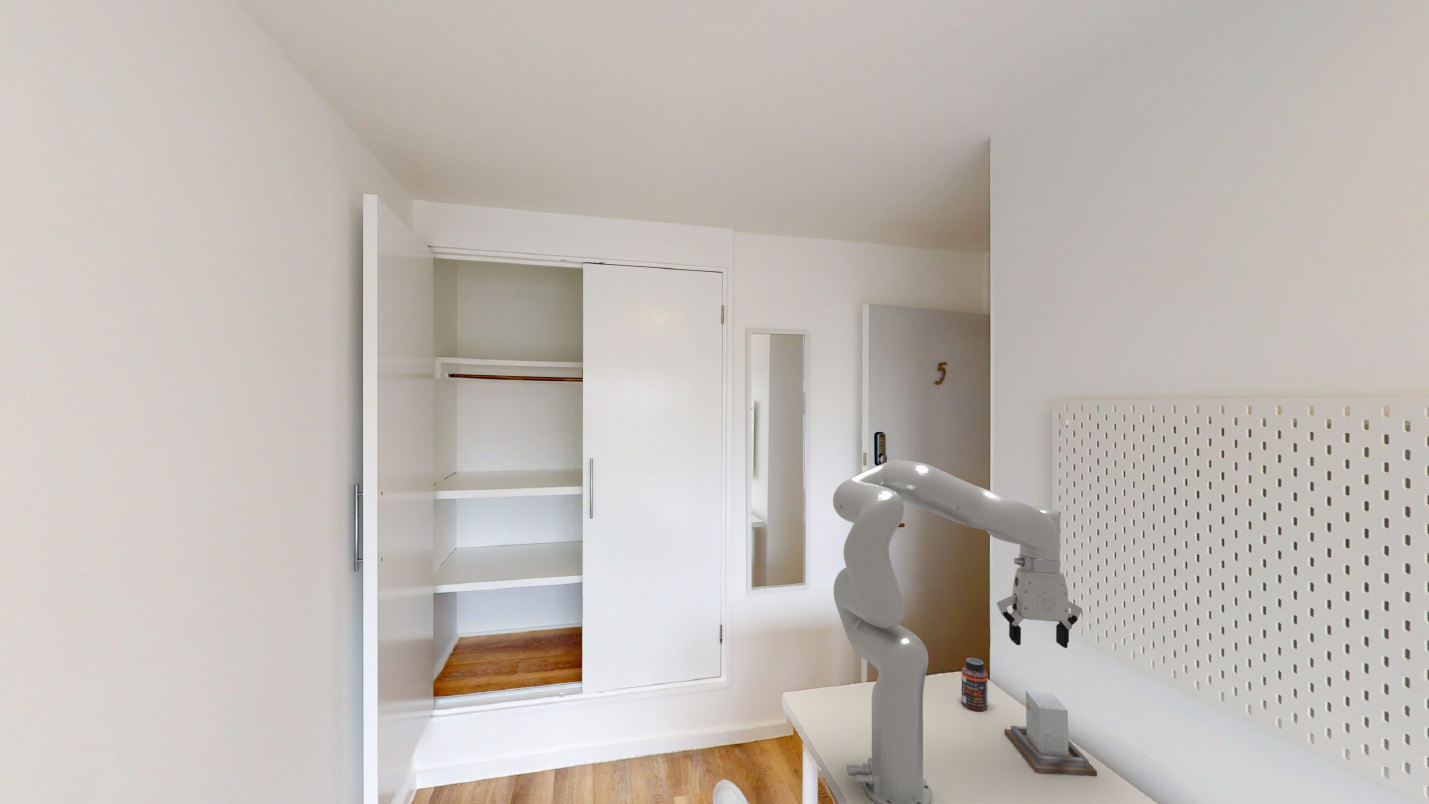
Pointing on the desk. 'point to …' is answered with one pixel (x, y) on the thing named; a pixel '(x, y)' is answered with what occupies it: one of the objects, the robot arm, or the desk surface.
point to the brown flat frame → (1049, 764)
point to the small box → (1046, 724)
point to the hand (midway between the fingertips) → (1038, 644)
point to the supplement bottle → (974, 685)
